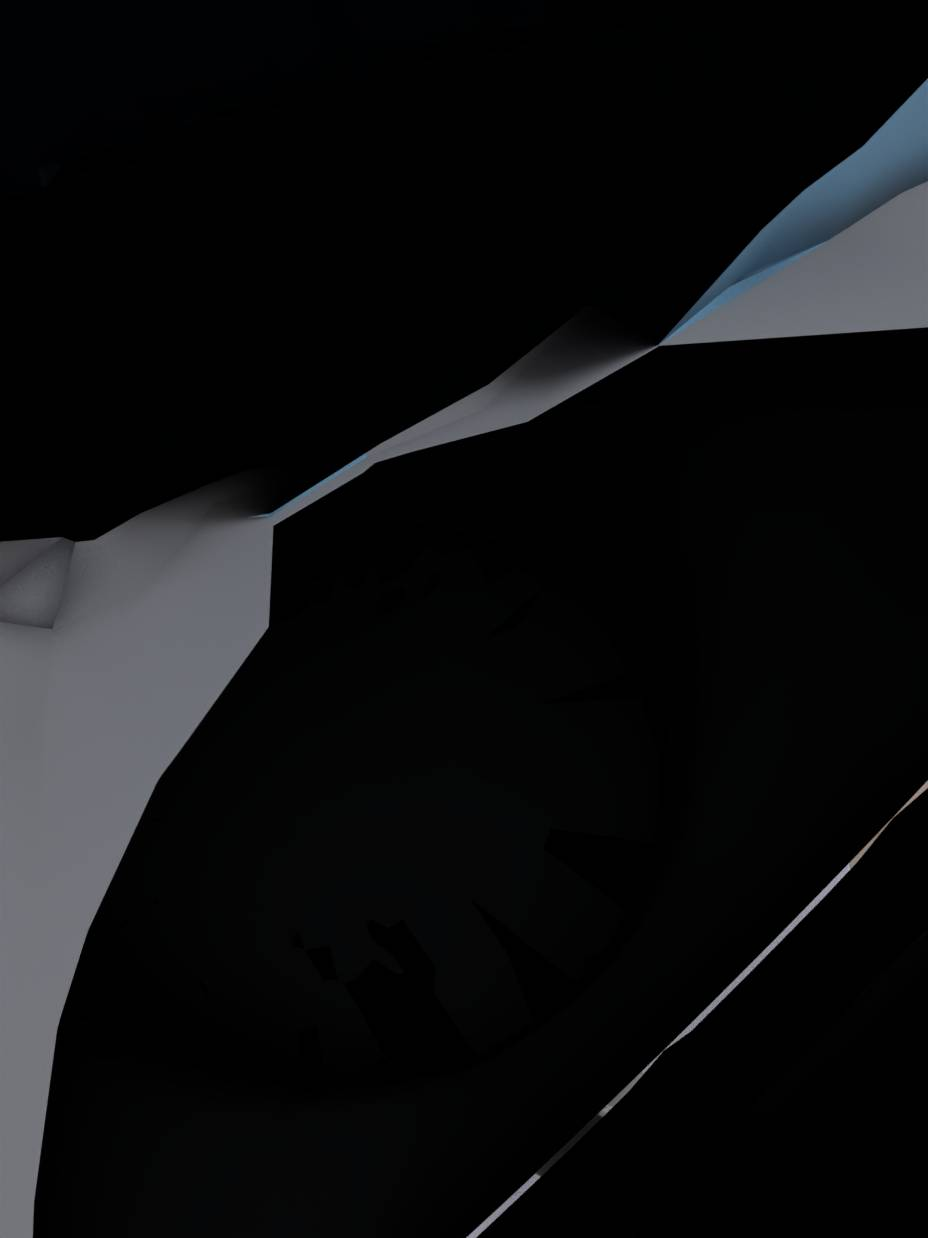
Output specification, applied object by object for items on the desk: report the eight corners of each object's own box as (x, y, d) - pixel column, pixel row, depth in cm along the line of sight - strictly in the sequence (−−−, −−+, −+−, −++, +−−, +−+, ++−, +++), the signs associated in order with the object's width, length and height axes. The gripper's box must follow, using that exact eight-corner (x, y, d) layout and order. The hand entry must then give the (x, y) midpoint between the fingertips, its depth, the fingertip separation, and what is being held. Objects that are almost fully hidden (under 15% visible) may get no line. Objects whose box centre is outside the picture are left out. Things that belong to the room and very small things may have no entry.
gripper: (1240, 1021, 14) (823, 1170, 30) (-18, 528, 20) (215, 875, 37) (1268, 1710, 9) (770, 1440, 26) (-311, 808, 16) (99, 1054, 33)
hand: (445, 1110), depth 32 cm, fingers open, 13 cm apart
